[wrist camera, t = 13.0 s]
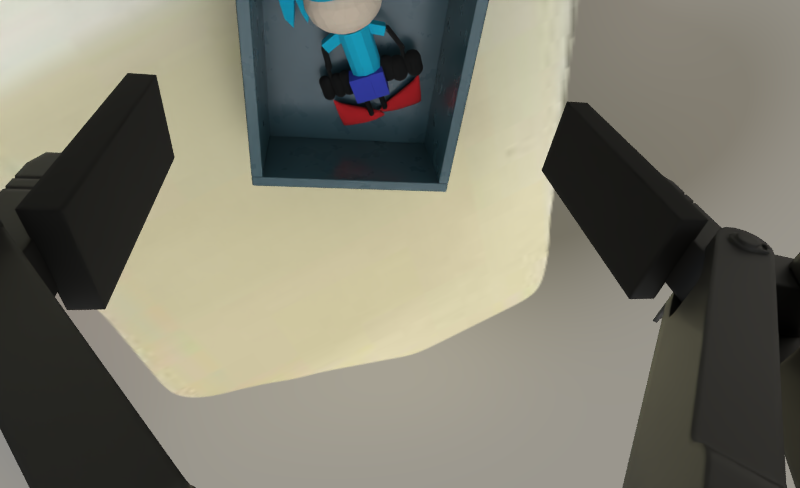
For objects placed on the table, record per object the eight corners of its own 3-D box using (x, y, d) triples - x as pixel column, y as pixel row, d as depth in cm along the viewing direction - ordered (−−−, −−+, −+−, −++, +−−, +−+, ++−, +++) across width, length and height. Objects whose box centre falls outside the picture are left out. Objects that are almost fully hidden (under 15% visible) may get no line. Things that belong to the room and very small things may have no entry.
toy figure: (427, 84, 35) (369, -162, 24) (436, 123, 32) (375, -138, 21) (334, 111, 36) (236, -113, 25) (335, 151, 33) (223, -84, 22)
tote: (235, -236, 23) (211, -261, 18) (491, -186, 25) (533, -197, 20) (261, 139, 36) (252, 185, 31) (429, 147, 38) (446, 192, 33)
